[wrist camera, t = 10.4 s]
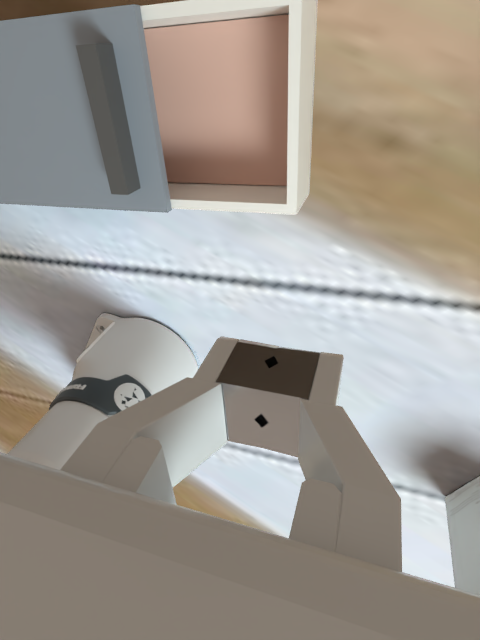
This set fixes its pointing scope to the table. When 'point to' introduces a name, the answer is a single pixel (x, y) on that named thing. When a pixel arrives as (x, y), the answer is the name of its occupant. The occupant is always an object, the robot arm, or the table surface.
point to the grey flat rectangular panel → (80, 113)
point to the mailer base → (234, 101)
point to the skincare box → (465, 535)
